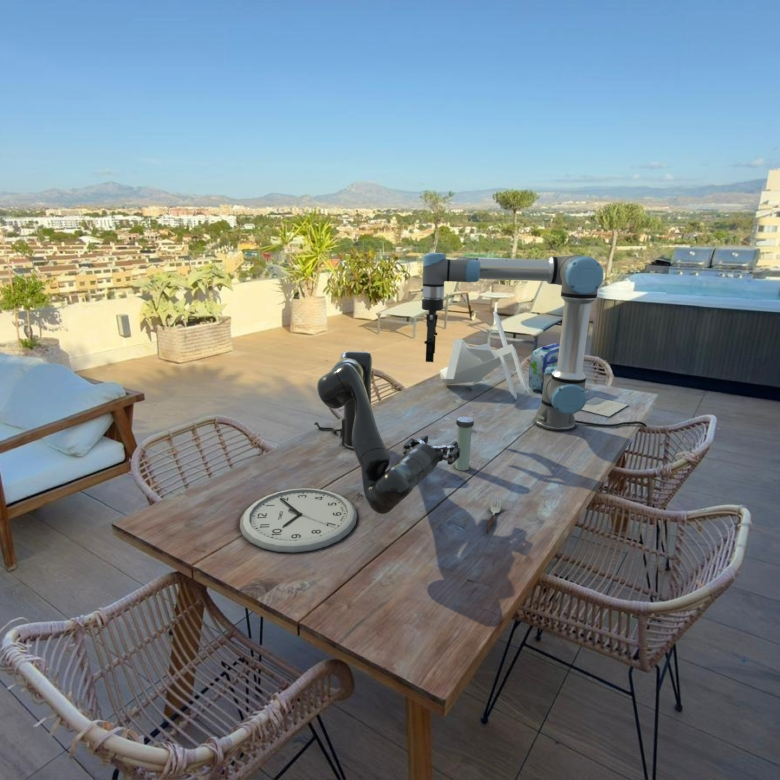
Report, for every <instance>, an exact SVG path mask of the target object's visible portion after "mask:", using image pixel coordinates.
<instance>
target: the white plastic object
mask: <svg viewBox="0 0 780 780" xmlns="http://www.w3.org/2000/svg"><path fill="white" fill-rule="evenodd" d="M492 315H493V319H494V321H495V324H496V325H495V326H496V328H497V332H498V335H499V338H500V342H501V345H502V347H500V348H498V349H496V350H495V349H493V348H492V347H491V346H490V344H489V343H488V342H487V343H483V344H479V345H473V346H469V345H468V343H466V342H465V340H464V339H463V338H460V339H458V338H454V340H453V344H452V349H451V353H450V357H449V362H448V366H446V367H444V368H442V369H440V370H439V371H438V372H439V376H440V381H442V383H443V384H444V385H445V386H449V385H458V384H467V383H468V384H469V383H473V384H477V383H480V382H482V381H484V378H485V377H486V376H487V375H489V374H490V373H492V372H494V371H495V370H496V369H497V368H499V367H500V366H502V370H503V373H504V376H505V380H506V383H507V386H508V390H509V393H510V394H511V395H512V397H513V398H514V399H515V400H517V392H516V391H517V390H516V388H515V385H514V381H513V378H512V375H511V371H510V369H509V365H508V361H510V360H513V363H514V366H515V369H516V372H517V376H518V380H519V382H520V385H521V389H522V391H523V393H524V395H525V396H526V397H528V396H531V395H530V390H529V386H528V384H527V381H526V378H525V375H524V371H523V369H522V368H523V367H522V366H521V362H520V359H519V355H518V352H517V349H516V347H515V346H514V345H513V343H511V344H508V341H507V337H506V334H505V331H504V328H503V325H502V321H501V318H500V315H499V314H498V312H497V311H496V310H495V311H492Z"/></svg>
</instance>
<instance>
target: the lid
mask: <svg viewBox="0 0 780 780" xmlns="http://www.w3.org/2000/svg"><path fill="white" fill-rule="evenodd" d="M455 424H456V426H457V427H458V426H460V427H464V428H468V427H472V428H473V426H475V425H474V424H475V421H474V418H472V417H470V416H459V417H457V418H456V423H455Z"/></svg>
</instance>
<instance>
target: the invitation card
mask: <svg viewBox="0 0 780 780" xmlns="http://www.w3.org/2000/svg"><path fill="white" fill-rule="evenodd" d="M628 406H629V404H627V403H623V402H618V401H614V400H609V399H605V398H601V397H596V396H593V397H592V398H590V399H587V401H586V404H585V406H584V407H583V408H582V409H581V410H580V411H584V412H587V413H593V414H596V415H600V416H604V417H608V418H609V417H611V416H613V415H614V414H616V413H617V412H619V411H621V410H623V409H624V408H626V407H628Z"/></svg>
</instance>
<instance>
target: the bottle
mask: <svg viewBox="0 0 780 780" xmlns="http://www.w3.org/2000/svg"><path fill="white" fill-rule="evenodd" d="M472 431H473V426H472V427H468V428H464V427H460V426H458V425H457V433H456V434H457V435H456V441H457V443H458V448H460V457H459V458H458V459H457V460H456V461H455V469H456V470H458V471H463V472H464V471H468V470H470V461H471V460H470V458H471V443H472Z"/></svg>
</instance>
